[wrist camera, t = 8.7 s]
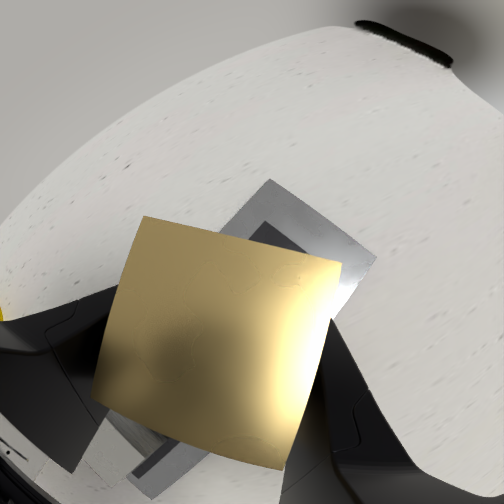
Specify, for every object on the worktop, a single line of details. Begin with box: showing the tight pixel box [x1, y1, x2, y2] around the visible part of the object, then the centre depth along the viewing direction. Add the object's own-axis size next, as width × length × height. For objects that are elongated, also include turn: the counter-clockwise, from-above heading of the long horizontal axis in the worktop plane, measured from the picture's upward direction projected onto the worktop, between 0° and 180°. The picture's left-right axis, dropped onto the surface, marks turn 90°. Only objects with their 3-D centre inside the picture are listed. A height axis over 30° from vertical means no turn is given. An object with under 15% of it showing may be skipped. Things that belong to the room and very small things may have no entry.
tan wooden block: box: [90, 216, 342, 471], centre depth 10 cm, size 4×4×10 cm
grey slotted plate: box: [126, 179, 377, 500], centre depth 18 cm, size 26×10×1 cm, turn 139°
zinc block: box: [82, 409, 168, 488], centre depth 14 cm, size 4×4×4 cm
